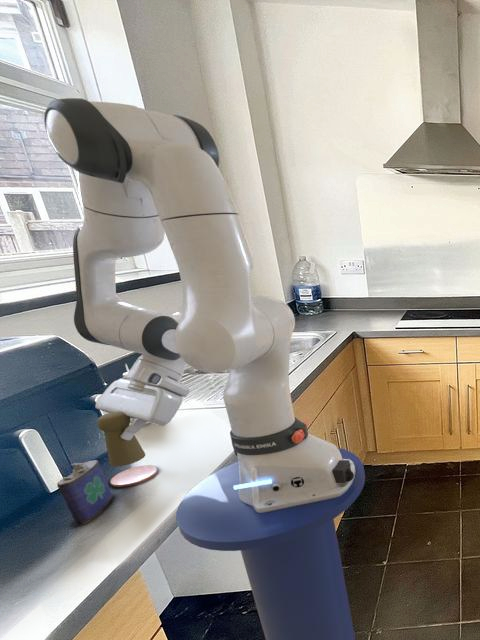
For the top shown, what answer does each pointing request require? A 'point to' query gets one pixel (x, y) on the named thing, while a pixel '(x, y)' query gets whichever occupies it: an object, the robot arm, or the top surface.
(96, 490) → the flask
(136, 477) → the coaster
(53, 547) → the top surface
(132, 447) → the cork
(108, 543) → the top surface
